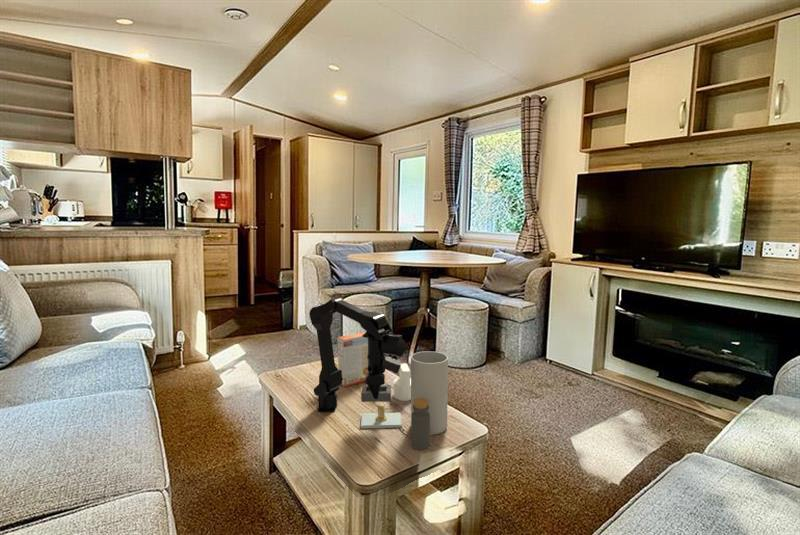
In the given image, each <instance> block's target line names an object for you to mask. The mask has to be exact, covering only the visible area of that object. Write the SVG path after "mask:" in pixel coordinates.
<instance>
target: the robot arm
mask: <svg viewBox="0 0 800 535" xmlns="http://www.w3.org/2000/svg"><path fill="white" fill-rule="evenodd" d="M335 313H337V314H340V315H343V316H345V317H347V318H348V319H350V320H352V321H355V322H356V323H358V324H359V326H360V327H361V328H362V329H363V330H364V331H365V332H366V333H365V334H363V335H362V336H363V337H365V338H368V356H367V359H368V371H369V373H368V374H367V375H366V381H365V385H368V387H369V389H370V391H371V393H372V395H373V397H374V399H378V394H379V389H380V386H381V385H386V384H385V383H386V382H385V381H386V376H385V375H386V374H385V372H386V371H390V372H393V373H394V374H398V373H399V369H400V366H401V364H402V362H401V360H400V359H399V358H400V357H402V356H403V355H404V353H405V351H406V347H407V346H406V344H407V343H406V342H405V340H404V339H403V335H402V334H394V331H393V329H392V326H390V324H389V322H388V320H387V317H386V316H385V314H383V313H380V312H376V311H368V310H364V309H362V308H360V307H358V306H356V305H355V304H352V303H350V302H347V301H345V300H344V299H343V298H340V297H336V298H332V299H329V301H326V302H325V303H323V304H320V305H317V306H313V307H312V308H311V309H310V310H309V314H308V315H309V318H310V323H311V325H312V327H314V329H315V330H316V336H317V341H318V351H319V355H320V357H319V358H320V362H321V365H320V366H321V369H320V372H319V375H318V384H317V386H315V387H314V388H313V393H314V396H317V401H318V402H317V403H318V404H317V405H318V406H317V407H318V408H317V412H318V413H321V412H322V413H323V412H324V413H325V412H335V411H336V409H337V408H338V394H336V392H337V391H339V390H340V388H341V386H342V385H341V384H342V380H343V378H342V371H341V370H338V368H337V366H336V362H335V356H334V348H333V341H332V339H333V338H332V333H331V332H332V331H331V326H332V324H333V319H334V314H335ZM386 355H391V356H386ZM398 357H399V358H398Z"/></svg>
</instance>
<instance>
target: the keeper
mask: <svg viewBox="0 0 800 535" xmlns="http://www.w3.org/2000/svg"><path fill="white" fill-rule="evenodd" d="M385 409H386V408H385V404H383V403H379V404H377V412H375V413H374V412H373V413H371V412H370V413H367V412H366V413H365V412H364V413H363V412H362V413H361V422H360V429H386V428H387V429H389V428H390V429H391V428H402V415H401V412H385Z"/></svg>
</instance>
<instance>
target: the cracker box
mask: <svg viewBox="0 0 800 535" xmlns="http://www.w3.org/2000/svg"><path fill="white" fill-rule="evenodd" d="M365 333H366V331H363V332H358V333H353V334H347V335H342V336H337V339H336V340H337V362H338V363H337V364H338V365H337V366H338V368H337V369H338V370H341V371H342V378H343V380H342V384H341V386H343V387H346V388H347V387H348V386H349V387H350V386H353V385H356V384H360V383H363V382H366V375H367V374H368V373H369V371H368V359H367V356H368V338H365V337H363V336H362V335H363V334H365Z"/></svg>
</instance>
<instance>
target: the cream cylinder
mask: <svg viewBox="0 0 800 535" xmlns="http://www.w3.org/2000/svg"><path fill="white" fill-rule="evenodd" d="M398 373H399V377H398V378H395V379H394V380H393V398H394V399H396V400H399V401H403V402H404V401H405V402H406V401H411V368H409V366H408V364H407V363H405V362H404V363H401V366H400V369H399V372H398Z"/></svg>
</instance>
